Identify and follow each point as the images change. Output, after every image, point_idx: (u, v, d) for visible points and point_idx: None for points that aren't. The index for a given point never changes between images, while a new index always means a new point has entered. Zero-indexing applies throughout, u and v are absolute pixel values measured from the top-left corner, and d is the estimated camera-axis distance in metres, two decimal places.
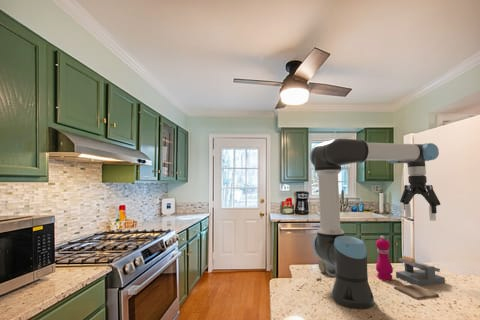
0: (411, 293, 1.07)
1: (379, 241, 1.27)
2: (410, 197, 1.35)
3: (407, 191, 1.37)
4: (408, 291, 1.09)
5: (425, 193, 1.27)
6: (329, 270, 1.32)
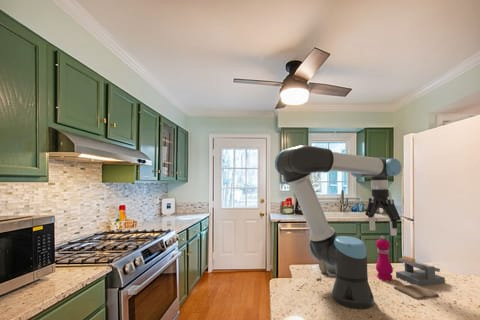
0: (411, 293, 1.07)
1: (379, 241, 1.27)
2: (374, 210, 1.34)
3: (371, 204, 1.36)
4: (408, 291, 1.09)
5: (387, 207, 1.26)
6: (329, 270, 1.32)
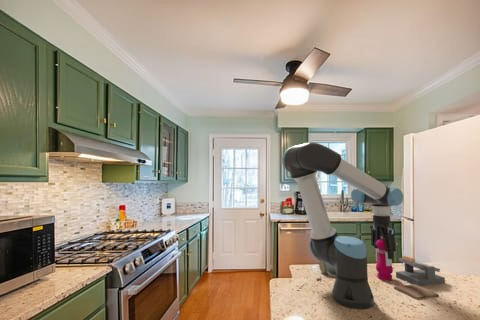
0: (411, 293, 1.07)
1: (379, 241, 1.27)
2: None
3: (374, 232, 1.33)
4: (408, 291, 1.09)
5: (386, 236, 1.25)
6: (330, 271, 1.31)
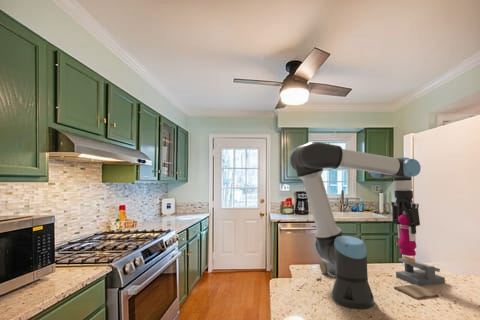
0: (411, 293, 1.07)
1: (402, 216, 1.24)
2: (400, 214, 1.27)
3: (396, 208, 1.30)
4: (408, 291, 1.09)
5: (409, 211, 1.23)
6: (330, 271, 1.31)
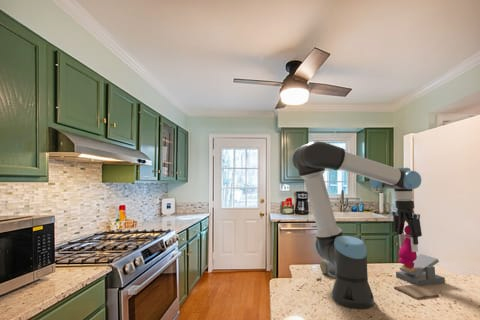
0: (411, 293, 1.07)
1: None
2: (401, 225, 1.27)
3: (397, 218, 1.30)
4: (408, 291, 1.09)
5: (411, 221, 1.22)
6: (331, 271, 1.30)
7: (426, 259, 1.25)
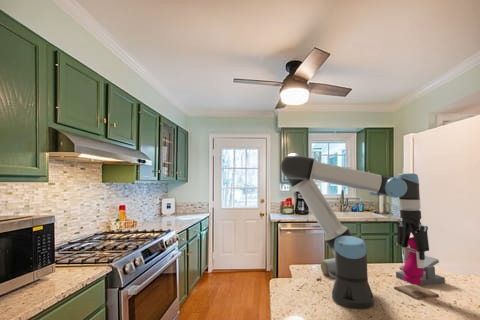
0: (411, 293, 1.07)
1: (413, 239, 1.11)
2: (407, 237, 1.14)
3: (401, 229, 1.17)
4: (408, 291, 1.09)
5: (417, 233, 1.09)
6: (332, 272, 1.29)
7: (426, 259, 1.25)
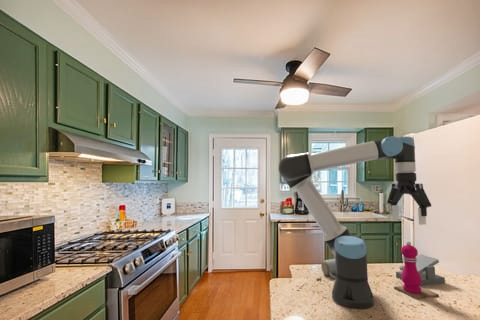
0: (411, 293, 1.07)
1: (405, 248, 1.10)
2: (398, 197, 1.18)
3: (395, 190, 1.20)
4: None
5: (414, 193, 1.10)
6: (332, 272, 1.29)
7: (426, 259, 1.25)
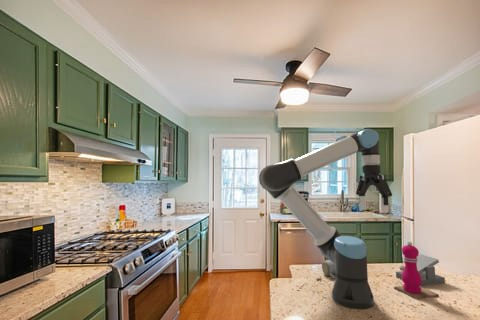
0: (411, 293, 1.07)
1: (406, 248, 1.10)
2: (365, 188, 1.26)
3: (362, 182, 1.28)
4: None
5: (378, 184, 1.17)
6: (333, 273, 1.28)
7: (426, 259, 1.25)
